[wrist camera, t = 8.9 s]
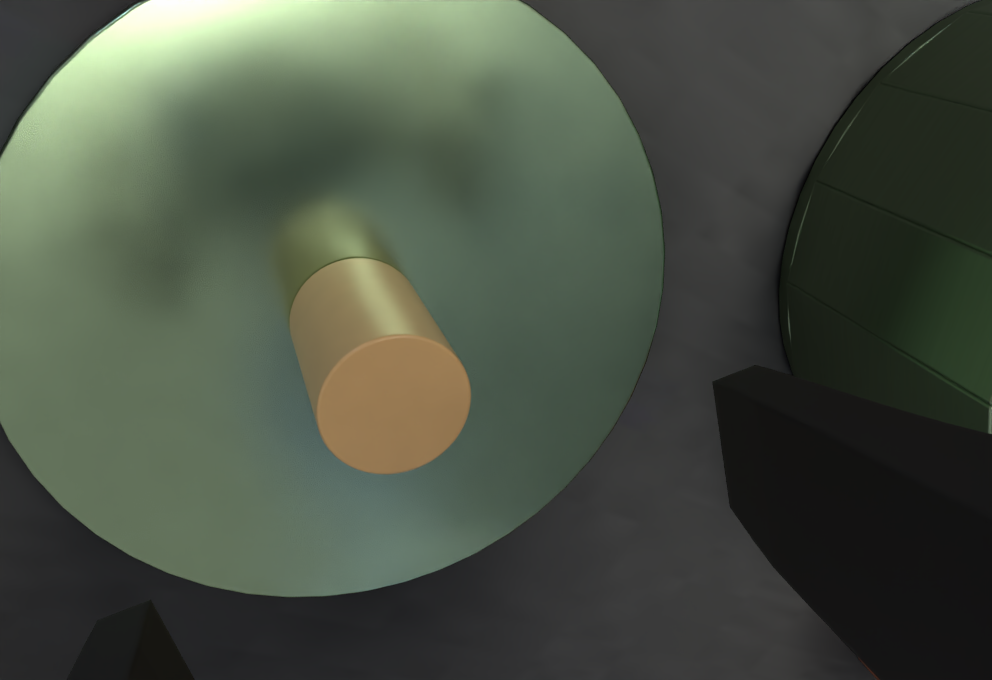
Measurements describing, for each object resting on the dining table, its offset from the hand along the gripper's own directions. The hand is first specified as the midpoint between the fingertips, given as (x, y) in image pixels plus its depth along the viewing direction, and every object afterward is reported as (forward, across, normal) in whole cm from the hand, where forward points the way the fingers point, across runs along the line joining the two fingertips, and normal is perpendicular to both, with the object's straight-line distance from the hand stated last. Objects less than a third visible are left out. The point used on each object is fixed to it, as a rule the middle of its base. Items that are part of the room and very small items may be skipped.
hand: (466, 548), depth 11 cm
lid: (+7, 0, 0) cm, 7 cm away
